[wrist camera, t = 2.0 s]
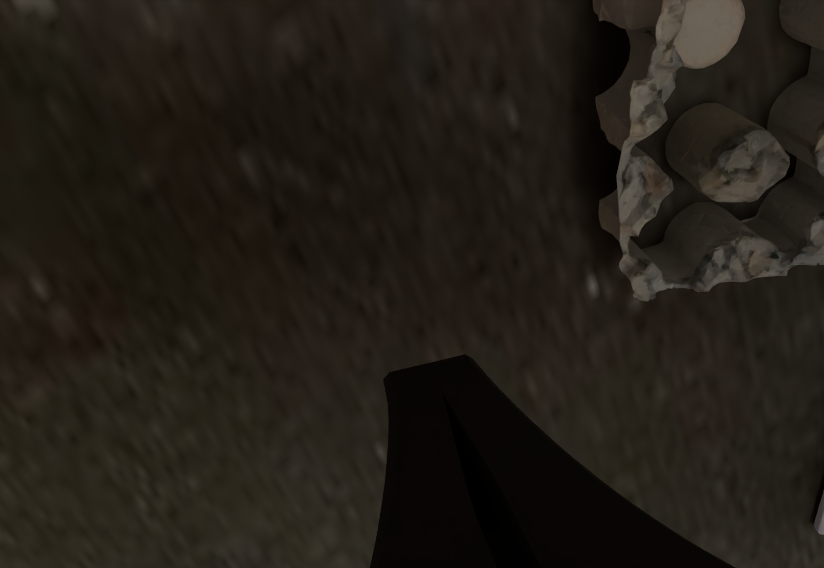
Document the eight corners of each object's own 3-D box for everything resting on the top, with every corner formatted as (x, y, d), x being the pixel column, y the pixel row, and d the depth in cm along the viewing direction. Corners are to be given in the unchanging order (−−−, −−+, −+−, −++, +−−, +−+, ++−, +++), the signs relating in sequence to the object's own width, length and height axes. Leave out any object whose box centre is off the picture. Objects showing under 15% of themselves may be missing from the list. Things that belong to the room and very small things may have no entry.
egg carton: (580, -100, 18) (661, -81, 15) (855, -144, 19) (990, -137, 16) (577, 262, 24) (634, 335, 21) (788, 217, 25) (875, 279, 22)
